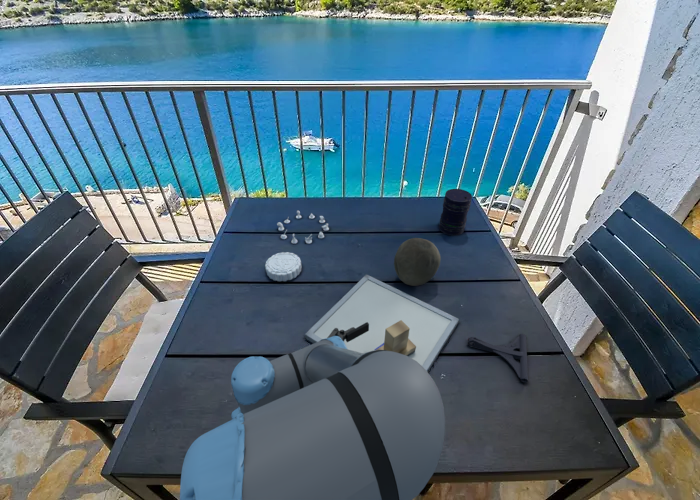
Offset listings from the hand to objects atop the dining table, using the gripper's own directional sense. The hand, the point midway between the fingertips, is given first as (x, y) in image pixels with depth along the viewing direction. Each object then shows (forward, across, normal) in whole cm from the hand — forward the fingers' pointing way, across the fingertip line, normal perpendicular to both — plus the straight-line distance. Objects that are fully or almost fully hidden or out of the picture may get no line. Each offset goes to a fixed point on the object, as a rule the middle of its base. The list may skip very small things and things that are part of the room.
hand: (384, 345), depth 84 cm
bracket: (+28, +13, -9) cm, 32 cm away
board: (+7, -9, -9) cm, 14 cm away
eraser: (+4, 0, -7) cm, 8 cm away
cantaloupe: (+29, -20, -9) cm, 36 cm away
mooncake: (-5, -48, -9) cm, 49 cm away
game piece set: (+12, -66, -9) cm, 68 cm away
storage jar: (+61, -34, -9) cm, 70 cm away
